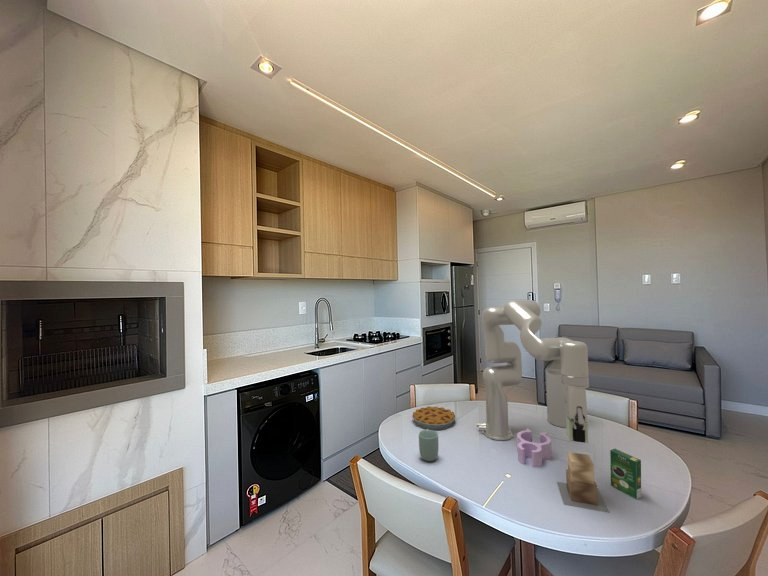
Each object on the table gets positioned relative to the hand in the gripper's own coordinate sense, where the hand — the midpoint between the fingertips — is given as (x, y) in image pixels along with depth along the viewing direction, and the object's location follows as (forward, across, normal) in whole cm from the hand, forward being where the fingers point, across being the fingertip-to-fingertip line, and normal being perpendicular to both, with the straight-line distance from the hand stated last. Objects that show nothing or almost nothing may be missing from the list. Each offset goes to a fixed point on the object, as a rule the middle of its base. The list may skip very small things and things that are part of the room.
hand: (577, 436), depth 100 cm
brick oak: (+13, 0, +1) cm, 13 cm away
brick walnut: (+19, 0, +1) cm, 19 cm away
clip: (+20, -23, -11) cm, 33 cm away
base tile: (+20, 0, +1) cm, 20 cm away
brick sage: (+1, 0, 0) cm, 1 cm away
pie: (+20, -46, -56) cm, 75 cm away
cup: (+20, -10, -50) cm, 55 cm away
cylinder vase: (+20, -62, +5) cm, 65 cm away
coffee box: (+20, -7, +14) cm, 26 cm away
